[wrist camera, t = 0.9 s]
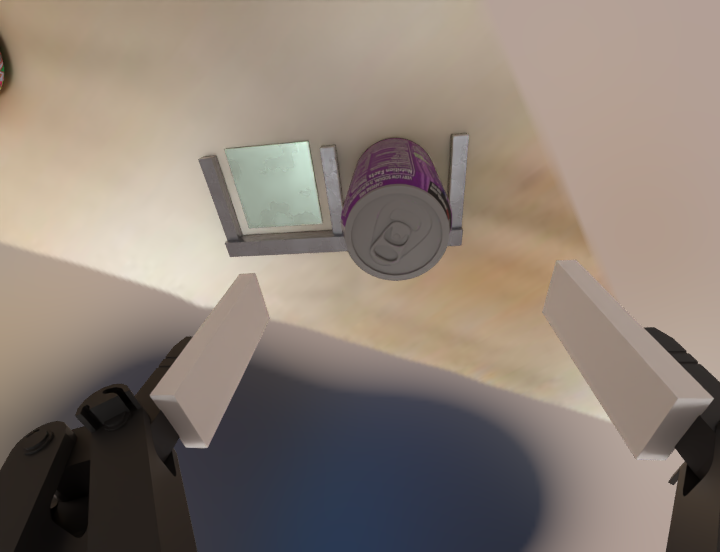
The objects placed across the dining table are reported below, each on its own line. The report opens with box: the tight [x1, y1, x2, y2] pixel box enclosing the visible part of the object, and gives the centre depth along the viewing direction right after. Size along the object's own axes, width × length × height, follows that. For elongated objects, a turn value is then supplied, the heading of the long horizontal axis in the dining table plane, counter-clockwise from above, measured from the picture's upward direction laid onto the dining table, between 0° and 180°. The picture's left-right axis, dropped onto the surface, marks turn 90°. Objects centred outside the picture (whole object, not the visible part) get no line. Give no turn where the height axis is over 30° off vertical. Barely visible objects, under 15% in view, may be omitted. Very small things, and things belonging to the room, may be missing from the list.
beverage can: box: [341, 138, 452, 281], centre depth 24 cm, size 7×7×12 cm
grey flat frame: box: [198, 133, 469, 257], centre depth 29 cm, size 10×23×2 cm, turn 96°
